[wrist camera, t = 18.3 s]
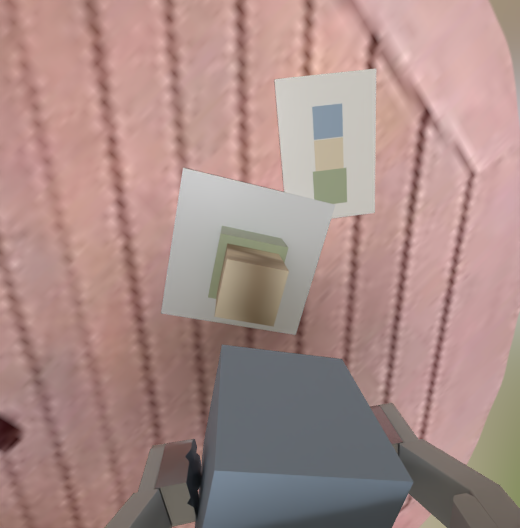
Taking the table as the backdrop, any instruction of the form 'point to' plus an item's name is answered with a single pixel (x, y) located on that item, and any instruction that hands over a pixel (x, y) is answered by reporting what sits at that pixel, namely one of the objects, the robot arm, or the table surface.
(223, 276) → the beech block
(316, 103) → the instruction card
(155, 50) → the table surface
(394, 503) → the slate blue block
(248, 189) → the build plate
